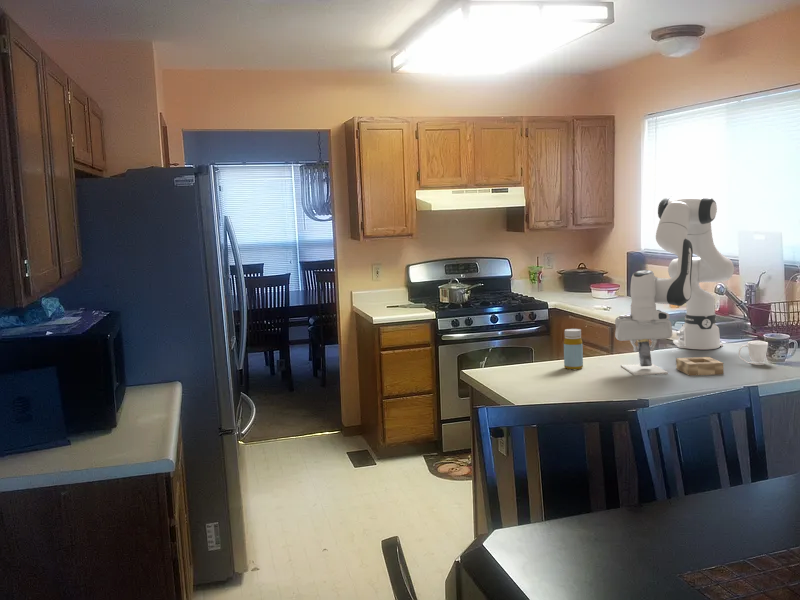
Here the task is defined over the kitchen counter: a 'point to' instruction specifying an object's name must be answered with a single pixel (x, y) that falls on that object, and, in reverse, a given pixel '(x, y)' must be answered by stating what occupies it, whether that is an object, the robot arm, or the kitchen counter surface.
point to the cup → (756, 351)
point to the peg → (644, 352)
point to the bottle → (573, 349)
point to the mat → (644, 369)
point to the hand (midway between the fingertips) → (643, 351)
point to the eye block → (699, 366)
